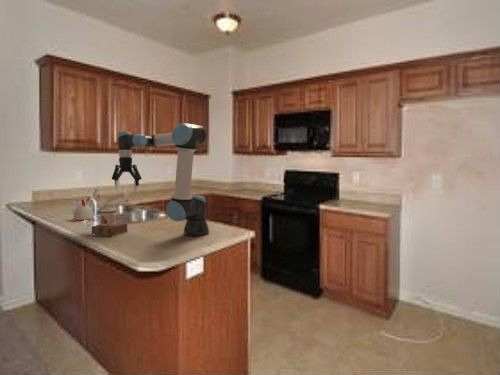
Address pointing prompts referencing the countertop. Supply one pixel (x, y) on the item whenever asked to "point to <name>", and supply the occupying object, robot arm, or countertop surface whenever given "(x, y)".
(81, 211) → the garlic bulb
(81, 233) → the countertop surface
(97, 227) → the block
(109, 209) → the teacup with lid
